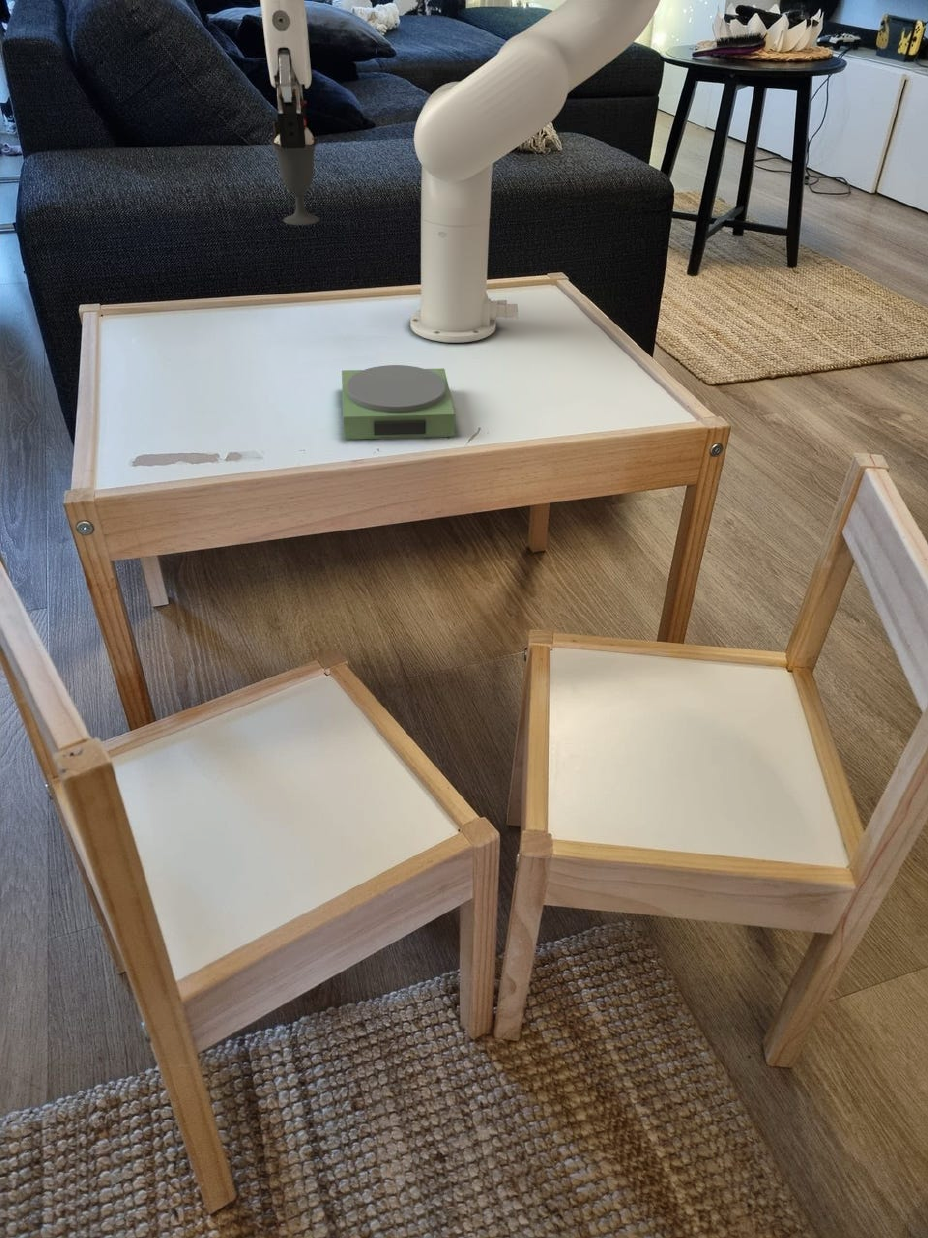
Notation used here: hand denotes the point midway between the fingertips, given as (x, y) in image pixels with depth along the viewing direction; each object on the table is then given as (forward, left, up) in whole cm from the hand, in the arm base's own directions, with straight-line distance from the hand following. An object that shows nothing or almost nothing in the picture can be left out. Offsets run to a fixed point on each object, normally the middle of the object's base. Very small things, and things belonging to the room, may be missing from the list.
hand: (294, 140), depth 122 cm
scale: (-11, +32, -24) cm, 42 cm away
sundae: (0, 0, -10) cm, 10 cm away
